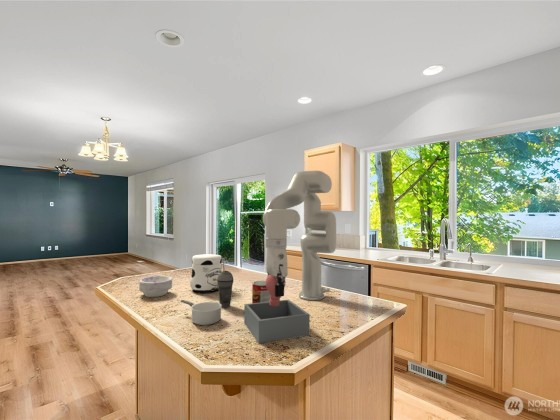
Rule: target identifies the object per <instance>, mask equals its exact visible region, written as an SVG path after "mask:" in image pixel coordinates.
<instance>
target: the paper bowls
mask: <svg viewBox="0 0 560 420" xmlns="http://www.w3.org/2000/svg"><path fill="white" fill-rule="evenodd" d="M138 281H139V282H138V283H139V284H138V285H139V286H138V287H139V290H138V291H139V292H141V293H142V294H143V295H144V296H145V297H147V298H158V297H162V296H165V295H167V293H168V291H170V290H171V289H172V288H173V278H172V277H171V276H167V275H156V276H155V275H152V276H146V277H142V278H140V279H139V280H138Z"/></svg>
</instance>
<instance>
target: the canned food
mask: <svg viewBox="0 0 560 420" xmlns="http://www.w3.org/2000/svg"><path fill="white" fill-rule="evenodd" d="M251 286H252V287H251V289H252V290H251V294H252V295H251V304H252V303H261V302H270V294H269V292H268V290H267V287H266V280H256V281H253V282H252V285H251Z"/></svg>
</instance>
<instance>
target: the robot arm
mask: <svg viewBox="0 0 560 420" xmlns="http://www.w3.org/2000/svg"><path fill="white" fill-rule="evenodd" d="M332 185H333V182H332V178H331V177H330V176H329V175H328V174H327V173H325V172H324V171H322V170H302V171H298V172H296V173H295V174H294V175H293V177H292V178H291V181H290V183H289V184H288V186H287V189H286V190H285V191H283V192H282V193H279V194H278V195H277V196H275V197H274V198H272V199H271V200H270V201H269V202H268V204H267V206H266V208H265V209H264V212H263V214H262V221H263V222H262V223H263V225H264V226H265V248H266V249H267V250H266V261H265V262H266V263H265V265H266V267H265V269H266V273H267V277H268V276H269V275H270V274H271V275H272V276H274V277H275V280H276V285H275V296H276V297H280V296H281V297H284V296H285V287H284V285H285V286H286V284H285V282H286V278H287V276H288V273H289V272H288V253H287V248H288V247H287V246H288V243H287V242H288V238H287V237H288V235H287V234H288V233H287V232H288V230H293V229H296V228H297V227H298V226H299V225H300V223H301V216H300V213H299V212H298V211H297V210H296V209H292V208H294V207H297V206H299V205H301V204H302V203H303V226H304V228H305V230H307V231H315V232H314V233H313V232H306V233H304V234H302V236H301V237H300V248H301V258H302V260H301V263H302V264H301V292H299V293H298V298H300V299H302V300H306V301H320V300H323V299H324V298H325V293H330V292H331V289H330V288H329V287H322V259H321V258H320V256H319V253H320V254H333V253H334V252H336V249H337V217H336V215H335V213H334V212H332V211H325V210H324V211H323V210H322V201H321V199H320V197H319V196H318V195H317V194H327V193H329V192H330V191H331V189H332ZM316 231H321V232H323V231H324V232H325V233H317V232H316ZM279 274H281V275H279ZM277 275H279V276H277ZM267 277H266V278H267ZM278 278H279V281H278Z"/></svg>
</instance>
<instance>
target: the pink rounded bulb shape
mask: <svg viewBox="0 0 560 420" xmlns="http://www.w3.org/2000/svg"><path fill="white" fill-rule="evenodd" d="M279 275H281V274H279ZM279 275H277V276H279ZM267 276H268V275H267ZM265 281H266V287H267V290H268V292H269V294H270V305H271V306H274V307H276V306H279V302H280V300H281V298H282V296H280V297H276V296H275V285H276V280H275V277H274V276H272V275H271V274H270V275H269V276H268V277H266V279H265ZM278 281H279V278H278ZM285 287H286V281H285V285H284V288H285Z"/></svg>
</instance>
